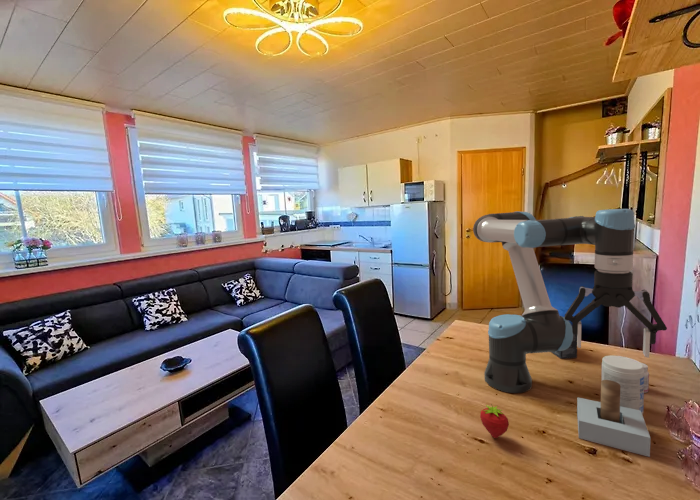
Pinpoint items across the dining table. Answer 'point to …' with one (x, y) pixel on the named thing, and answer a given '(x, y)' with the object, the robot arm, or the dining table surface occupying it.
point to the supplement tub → (626, 379)
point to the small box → (568, 350)
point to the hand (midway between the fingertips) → (611, 350)
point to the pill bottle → (646, 378)
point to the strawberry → (494, 421)
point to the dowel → (610, 401)
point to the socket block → (613, 428)
